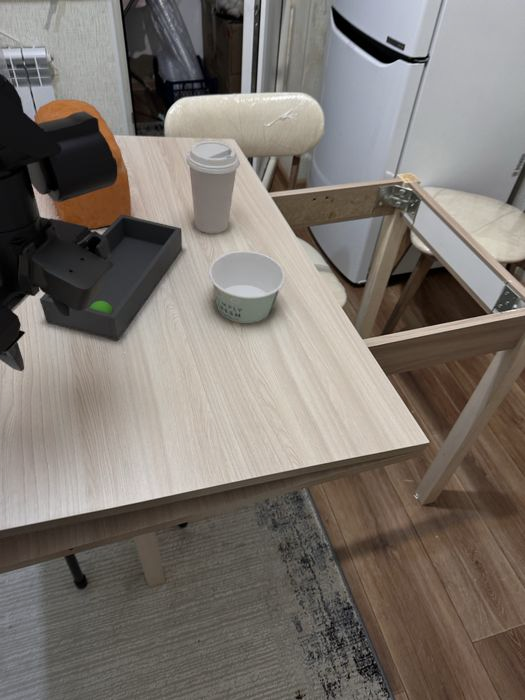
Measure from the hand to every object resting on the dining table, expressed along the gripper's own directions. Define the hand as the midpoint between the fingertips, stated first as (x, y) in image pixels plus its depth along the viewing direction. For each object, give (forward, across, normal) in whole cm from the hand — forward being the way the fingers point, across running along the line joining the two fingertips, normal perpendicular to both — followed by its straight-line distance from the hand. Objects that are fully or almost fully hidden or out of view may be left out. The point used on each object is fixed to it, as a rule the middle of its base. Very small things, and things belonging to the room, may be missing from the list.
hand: (43, 340), depth 54 cm
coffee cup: (+12, +49, -3) cm, 50 cm away
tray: (+12, +26, +5) cm, 29 cm away
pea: (+11, +16, +3) cm, 20 cm away
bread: (+12, +49, +24) cm, 56 cm away
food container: (+12, +28, -16) cm, 34 cm away
